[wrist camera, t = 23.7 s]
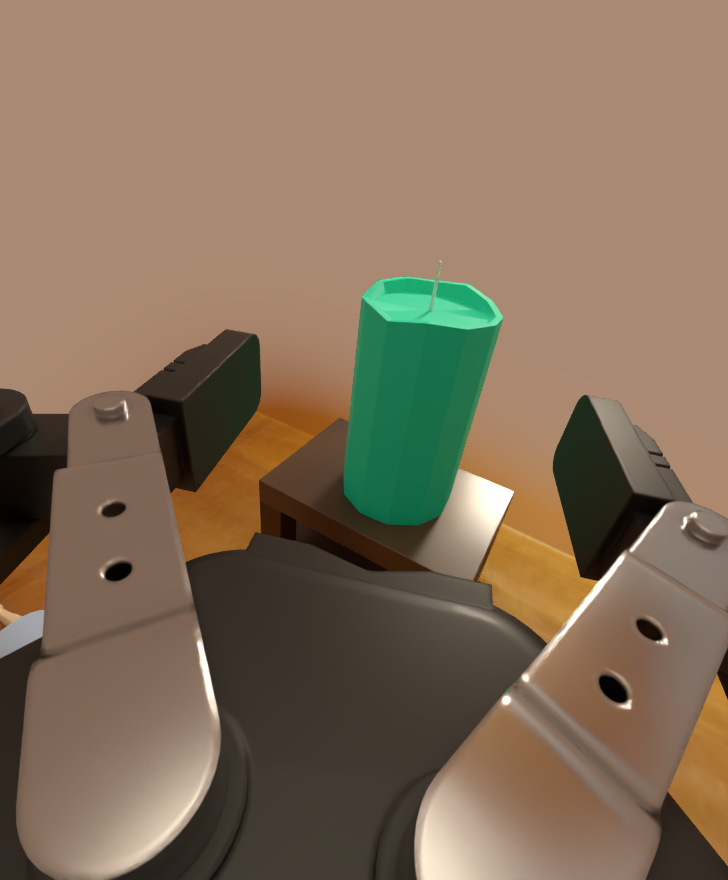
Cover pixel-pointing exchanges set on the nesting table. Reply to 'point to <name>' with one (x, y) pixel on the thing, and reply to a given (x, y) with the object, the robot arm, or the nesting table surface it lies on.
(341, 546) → the stand
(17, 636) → the fairy figurine
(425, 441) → the candle
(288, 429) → the nesting table surface
